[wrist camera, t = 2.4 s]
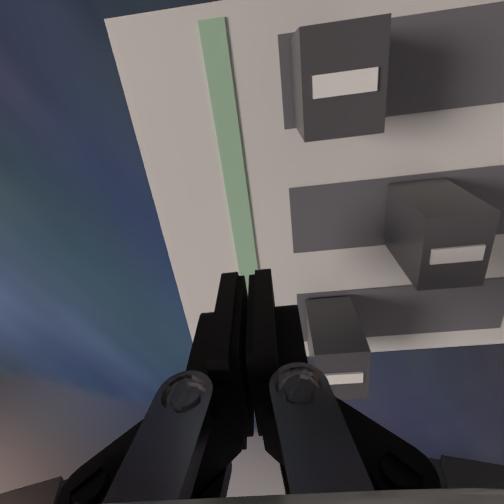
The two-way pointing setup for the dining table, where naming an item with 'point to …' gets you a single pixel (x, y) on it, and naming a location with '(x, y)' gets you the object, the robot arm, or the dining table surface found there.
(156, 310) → the dining table surface
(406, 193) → the block
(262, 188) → the panel
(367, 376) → the breaker
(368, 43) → the block
